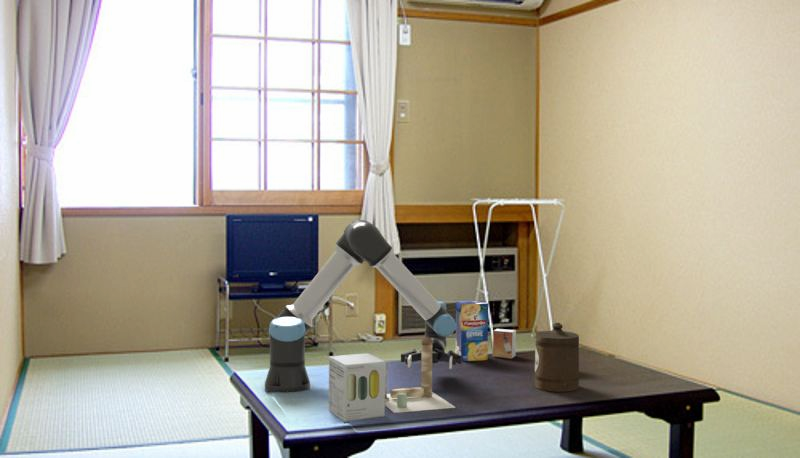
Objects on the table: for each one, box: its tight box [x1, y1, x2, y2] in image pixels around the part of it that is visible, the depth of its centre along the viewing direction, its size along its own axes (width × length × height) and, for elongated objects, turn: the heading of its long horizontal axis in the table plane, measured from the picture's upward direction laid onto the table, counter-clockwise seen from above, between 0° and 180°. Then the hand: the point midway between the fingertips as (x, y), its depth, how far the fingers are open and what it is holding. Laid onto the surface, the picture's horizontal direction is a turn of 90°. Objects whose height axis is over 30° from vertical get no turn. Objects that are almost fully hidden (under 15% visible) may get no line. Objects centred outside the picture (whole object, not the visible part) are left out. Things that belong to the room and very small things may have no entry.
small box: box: [492, 328, 517, 359], centre depth 360 cm, size 8×6×10 cm
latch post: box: [397, 393, 407, 408], centre depth 282 cm, size 3×3×4 cm
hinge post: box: [385, 361, 389, 402], centre depth 289 cm, size 4×4×12 cm
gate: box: [389, 336, 433, 398], centre depth 292 cm, size 14×4×19 cm, turn 109°
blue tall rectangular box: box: [454, 300, 489, 362], centre depth 355 cm, size 7×11×22 cm, turn 106°
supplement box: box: [328, 352, 386, 424], centre depth 274 cm, size 13×13×18 cm
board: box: [385, 391, 456, 414], centre depth 289 cm, size 20×22×1 cm
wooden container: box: [534, 322, 580, 393], centre depth 311 cm, size 15×15×22 cm
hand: (429, 364), depth 296 cm, fingers open, 13 cm apart
